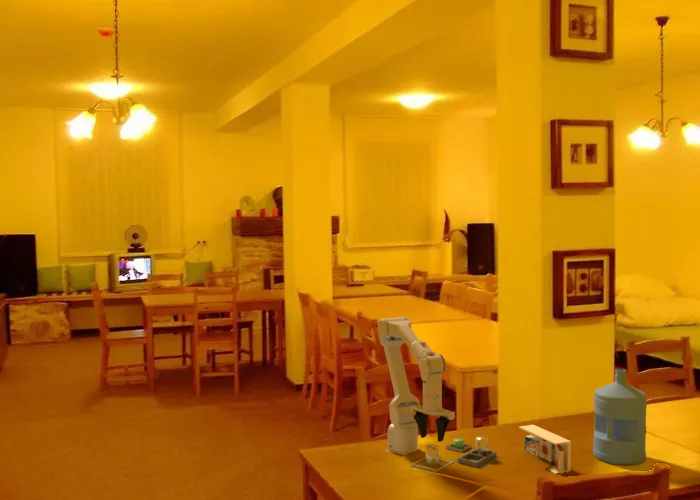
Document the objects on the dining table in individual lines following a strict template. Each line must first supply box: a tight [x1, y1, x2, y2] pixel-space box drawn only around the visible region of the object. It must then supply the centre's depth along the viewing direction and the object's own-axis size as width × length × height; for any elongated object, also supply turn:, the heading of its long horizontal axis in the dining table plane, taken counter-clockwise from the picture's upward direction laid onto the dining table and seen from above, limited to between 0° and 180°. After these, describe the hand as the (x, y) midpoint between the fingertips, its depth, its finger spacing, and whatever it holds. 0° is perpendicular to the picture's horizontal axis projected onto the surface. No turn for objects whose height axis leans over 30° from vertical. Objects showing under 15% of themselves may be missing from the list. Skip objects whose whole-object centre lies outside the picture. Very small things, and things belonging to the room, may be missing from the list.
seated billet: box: [475, 435, 490, 456], centre depth 232 cm, size 4×4×6 cm
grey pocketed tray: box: [452, 448, 502, 469], centre depth 230 cm, size 10×13×3 cm
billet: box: [424, 443, 440, 467], centre depth 226 cm, size 4×4×6 cm
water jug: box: [592, 368, 648, 466], centre depth 234 cm, size 16×16×28 cm
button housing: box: [445, 442, 473, 453], centre depth 241 cm, size 6×6×2 cm
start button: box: [452, 438, 465, 449], centre depth 241 cm, size 4×4×3 cm
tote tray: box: [410, 457, 454, 474], centre depth 226 cm, size 9×9×1 cm
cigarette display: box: [518, 424, 572, 475], centre depth 229 cm, size 20×6×9 cm, turn 22°
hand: (432, 438), depth 225 cm, fingers open, 5 cm apart
